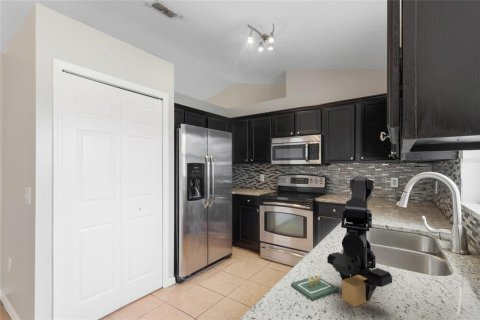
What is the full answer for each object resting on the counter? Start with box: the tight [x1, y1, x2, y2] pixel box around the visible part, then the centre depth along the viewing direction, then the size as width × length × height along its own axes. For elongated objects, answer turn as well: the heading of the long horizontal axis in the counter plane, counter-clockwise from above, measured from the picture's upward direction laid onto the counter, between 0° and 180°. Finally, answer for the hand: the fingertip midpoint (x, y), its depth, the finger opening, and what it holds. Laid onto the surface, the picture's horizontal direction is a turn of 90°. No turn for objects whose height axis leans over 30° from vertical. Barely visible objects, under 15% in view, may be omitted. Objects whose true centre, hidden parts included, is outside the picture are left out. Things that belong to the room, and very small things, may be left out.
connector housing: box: [341, 275, 372, 308], centre depth 73 cm, size 8×4×6 cm, turn 118°
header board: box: [290, 274, 339, 302], centre depth 79 cm, size 12×10×4 cm
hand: (356, 294), depth 73 cm, fingers open, 7 cm apart
